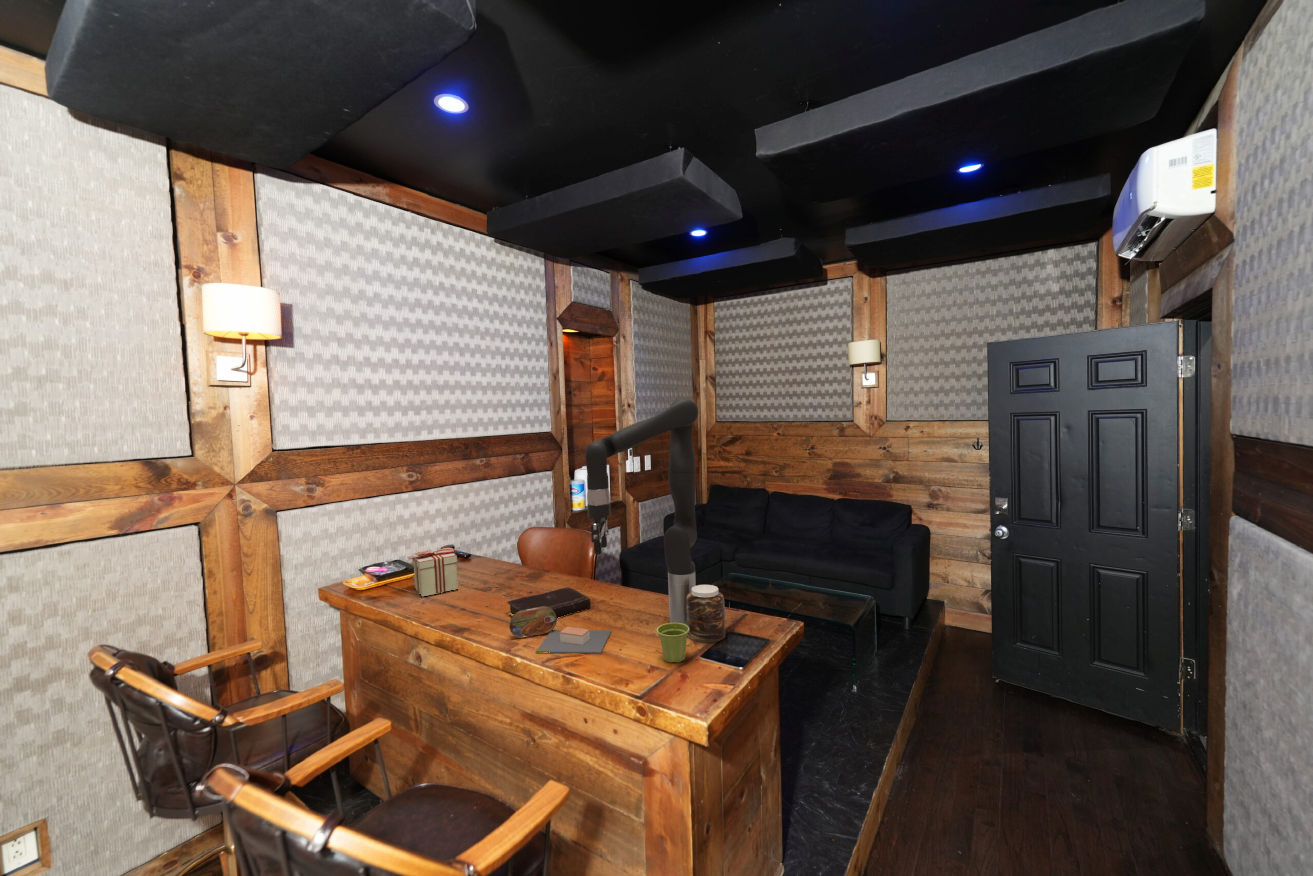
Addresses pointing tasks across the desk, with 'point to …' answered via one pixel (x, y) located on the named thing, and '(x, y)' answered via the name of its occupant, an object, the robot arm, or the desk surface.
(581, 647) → the mat
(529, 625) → the tin
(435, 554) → the gift box
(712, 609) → the jar
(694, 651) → the desk surface
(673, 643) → the plant pot
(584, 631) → the block
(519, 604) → the diary
